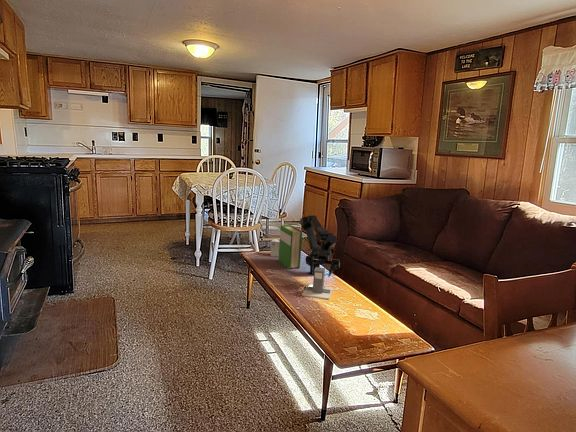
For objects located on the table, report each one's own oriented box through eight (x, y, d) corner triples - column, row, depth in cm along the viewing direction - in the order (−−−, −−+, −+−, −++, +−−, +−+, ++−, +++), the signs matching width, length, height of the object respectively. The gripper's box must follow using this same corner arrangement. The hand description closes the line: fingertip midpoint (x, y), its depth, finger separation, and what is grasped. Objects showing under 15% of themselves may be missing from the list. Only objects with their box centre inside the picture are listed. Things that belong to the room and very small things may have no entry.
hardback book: (299, 268, 244) (302, 231, 240) (288, 269, 241) (291, 231, 237) (288, 260, 260) (291, 225, 256) (278, 260, 257) (280, 225, 253)
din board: (307, 285, 216) (307, 284, 216) (332, 288, 213) (332, 287, 213) (302, 295, 200) (302, 294, 200) (329, 299, 198) (329, 298, 197)
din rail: (306, 288, 209) (306, 286, 209) (330, 292, 206) (330, 289, 206) (305, 290, 207) (305, 287, 207) (330, 293, 204) (330, 291, 204)
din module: (314, 288, 210) (315, 267, 208) (323, 289, 209) (325, 268, 207) (312, 292, 204) (314, 270, 202) (321, 293, 203) (323, 271, 201)
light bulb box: (286, 254, 272) (287, 239, 270) (285, 257, 266) (286, 242, 264) (271, 253, 273) (272, 238, 271) (270, 256, 267) (271, 240, 265)
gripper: (307, 241, 215) (302, 266, 206) (341, 245, 211) (337, 271, 202) (308, 251, 224) (303, 275, 216) (341, 255, 220) (337, 280, 211)
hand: (320, 275), depth 211 cm, fingers open, 9 cm apart
